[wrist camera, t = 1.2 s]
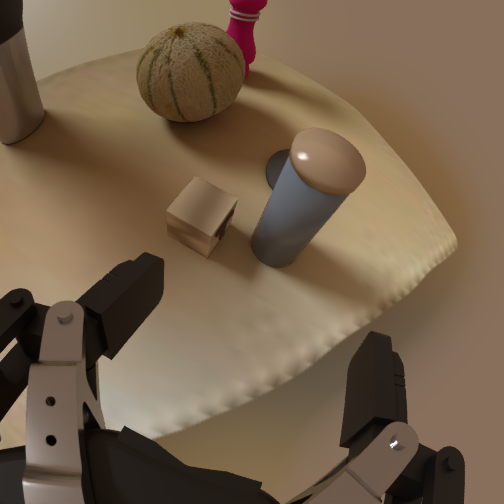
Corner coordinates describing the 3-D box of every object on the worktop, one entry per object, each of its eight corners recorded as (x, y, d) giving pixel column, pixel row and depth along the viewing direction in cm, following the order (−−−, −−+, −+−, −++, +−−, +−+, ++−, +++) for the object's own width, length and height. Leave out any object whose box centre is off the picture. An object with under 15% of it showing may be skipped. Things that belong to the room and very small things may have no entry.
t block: (167, 235, 31) (165, 210, 26) (192, 203, 33) (195, 175, 28) (209, 259, 30) (213, 238, 26) (232, 225, 33) (240, 200, 28)
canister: (240, 251, 32) (280, 157, 18) (263, 213, 34) (308, 118, 21) (287, 278, 31) (356, 202, 18) (306, 238, 34) (371, 155, 21)
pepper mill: (227, 60, 48) (248, -27, 31) (257, 74, 48) (285, -17, 30) (203, 71, 45) (220, -26, 27) (234, 86, 44) (260, -16, 27)
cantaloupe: (251, 106, 43) (275, 26, 29) (200, 158, 36) (214, 57, 22) (177, 77, 43) (185, 2, 30) (118, 120, 36) (109, 31, 23)
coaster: (252, 184, 36) (253, 181, 35) (283, 141, 40) (284, 138, 40) (322, 224, 35) (324, 221, 35) (343, 175, 40) (345, 173, 40)
